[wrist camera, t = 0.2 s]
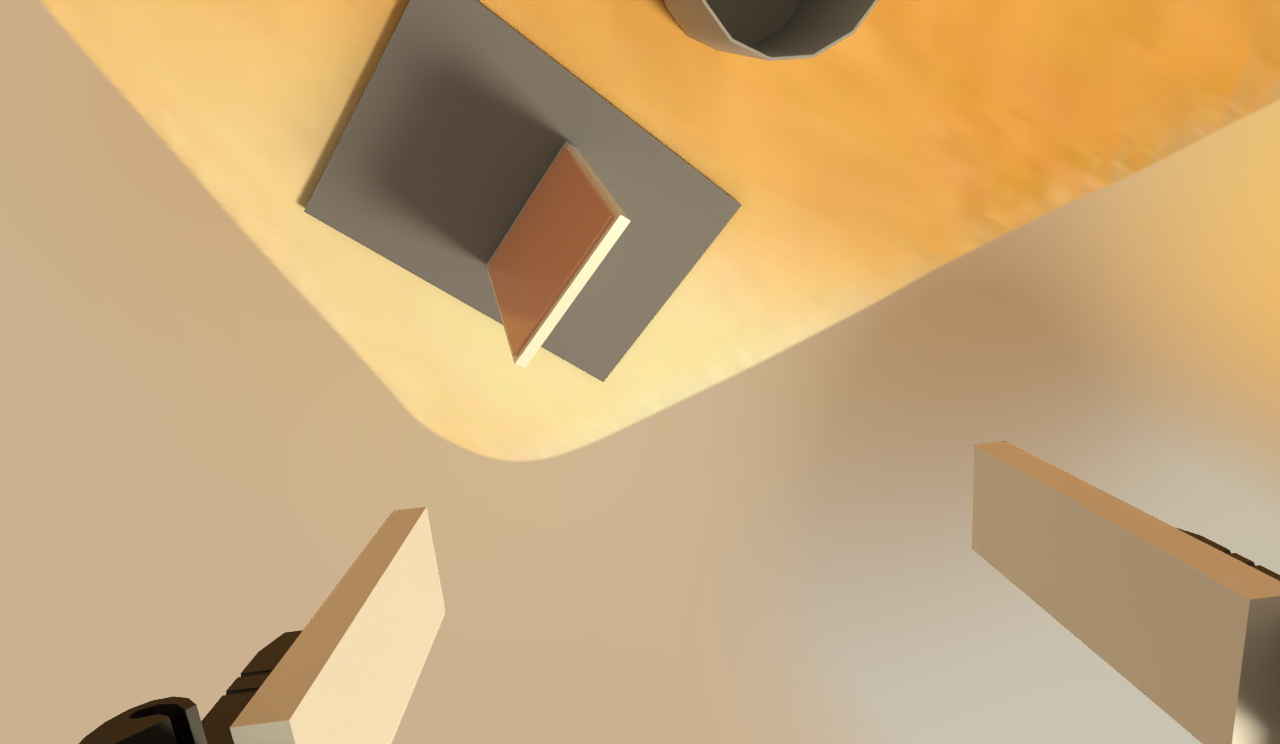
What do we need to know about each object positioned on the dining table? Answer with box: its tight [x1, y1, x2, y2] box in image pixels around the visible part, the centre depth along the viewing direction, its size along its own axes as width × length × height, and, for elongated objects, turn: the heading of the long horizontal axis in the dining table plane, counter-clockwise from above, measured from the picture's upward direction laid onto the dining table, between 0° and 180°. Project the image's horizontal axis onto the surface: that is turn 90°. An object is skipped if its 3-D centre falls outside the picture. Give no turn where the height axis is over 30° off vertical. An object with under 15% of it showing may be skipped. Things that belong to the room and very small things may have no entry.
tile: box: [485, 141, 630, 368], centre depth 34 cm, size 10×9×1 cm
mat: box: [304, 0, 741, 382], centre depth 38 cm, size 15×21×1 cm
